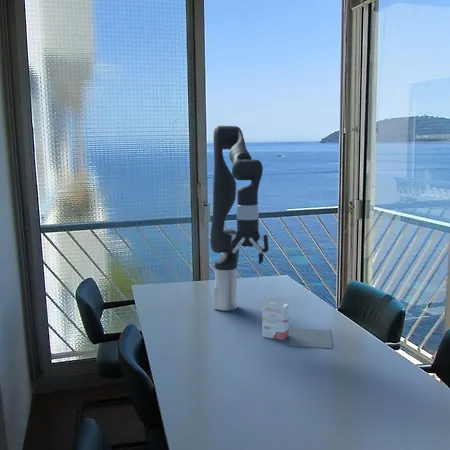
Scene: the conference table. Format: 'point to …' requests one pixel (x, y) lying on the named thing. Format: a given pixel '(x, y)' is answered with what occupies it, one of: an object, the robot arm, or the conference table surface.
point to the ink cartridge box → (275, 319)
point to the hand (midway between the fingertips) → (248, 263)
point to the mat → (311, 338)
